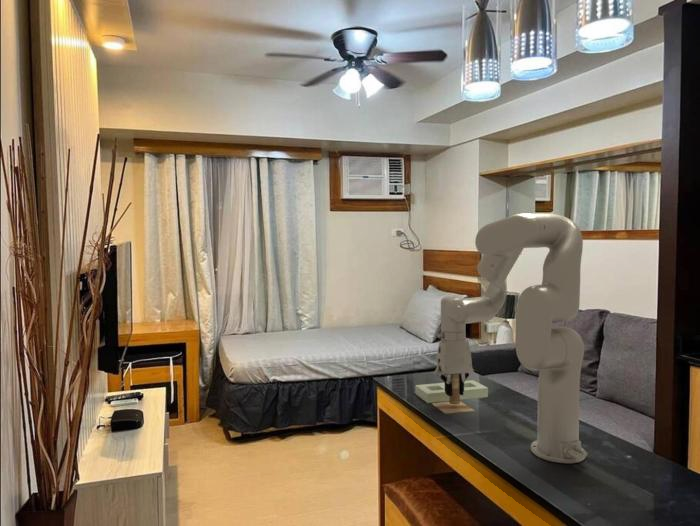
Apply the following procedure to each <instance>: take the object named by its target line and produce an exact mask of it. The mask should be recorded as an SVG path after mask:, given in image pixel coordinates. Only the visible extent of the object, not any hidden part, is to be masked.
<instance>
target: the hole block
mask: <svg viewBox="0 0 700 526" xmlns="http://www.w3.org/2000/svg"><path fill="white" fill-rule="evenodd" d="M414 389H415V395H416V396H418V397H419V398H420V399H421V400H423V401H424V402H425V403H426V404H432V403H442V402H449V396H448V395H446V393H445V382H436V383H426V384H425V383H424V384H416V385H415V388H414ZM488 397H489V387H487V386H485V385H483V384H482V383H480V382H478V381H475V380H474V379H471V380H466V381H465V382H464V392H463V395H460V401H462V400H463V401H464V400H469V399H472V400H473V399H480V398H481V399H483V398H488Z"/></svg>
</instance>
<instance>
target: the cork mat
mask: <svg viewBox="0 0 700 526" xmlns="http://www.w3.org/2000/svg"><path fill="white" fill-rule="evenodd" d="M431 405H433V406H434V407H435V408H437V409H438V410H439V411H441V412H442V413H443V414H444V415H447V414H448V415H450V414H457V413H467V412H475V411H476V410H474V409H473V408H472V407H470V406H468V405H467V404H465V403H464V402H463V401H462V400H460V404H450V403H449V401H443V402H433V403H431Z"/></svg>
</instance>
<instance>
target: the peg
mask: <svg viewBox="0 0 700 526" xmlns="http://www.w3.org/2000/svg"><path fill="white" fill-rule="evenodd" d="M450 383H451V384H452V396H449V401H448V402H449V403H450V404H460V401H461V400H460V384H459V374H451V380H450Z"/></svg>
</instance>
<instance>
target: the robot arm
mask: <svg viewBox="0 0 700 526" xmlns="http://www.w3.org/2000/svg"><path fill="white" fill-rule="evenodd" d="M583 239H584V238H583V235H582V231H581V228H580V227H579V226H578V225H577V224H576V223H575V221H573V220H572V219H570V218H568V217H566V216H564V215H561V214H555V213H526V212H525V213H524V212H522V213H517V214H514V215H510V216H507V217H505V218H501V219H499V220H498V219H497V220H495V221H493V222H489V223H487V224H485V225H484V226H482V227H480V229H479V230H478V232H477V233H476V236H475V239H474V240H475V242H474V243H475V248H476V250H477V251H478V252H479V253H480V254H481V255H482V257H481V260H480V261H479V263H478V264H477V268H476V269H477V273H478V275H479V276H480V277H481V278H482V279H484V280H485V281H486V282H487V283H488V286H487V288H486V290H485V291H484V293H483V294H482V296H476V297H475V296H474V297H473V296H472V297H467V298H465V297H462V296H445V297H442V298H441V300H440V329H441V330H440V333H437V335H436V336H437V338H438V339H440V340H439V343H438V347H437V357H436V359H437V360H436V368H435V370H434V372H433V375H434V376H436V377H438V378H440V379H441V380H442V381H443V383H445V393H446V395H448V396H452V384H451V383H450V380H451V374H459V384H460V395H463V392H464V382H465V381H467V380H466V379H468V377H469V376H471V375H472V374H473V373H474V372H475V369H474V368H473V363H472V362H473V361H472V352H471V346H470V342H469V340H467V337H466V336H467V335H466V333H467V332H466V326H467V325H466V324H475V323H480V322H482V323H483V322H489V321H490V320H492V319H494V318H495V317H496V316H497V314H498V313H499V311H500V310H501V308H502V306H503V305H504V304H505V301H506V297H507V283H506V279H507V277H508V276H509V274H510V272H511V270H512V269H513V267H514V266H515V264H516V263H517V261H518V259H519V257H520V255H521V254H522V252H523V250H524V249H534V248H547V249H549V250H548V253H547V255H546V256H545V258H544V262H543V266H542V281H541V284H535V285H530V286H528V287H527V288H524V290H523V291H521V293H520V294H519V297H518V300H517V302H516V307H515V308H516V310H515V311H516V312H515V313H516V314H515V316H516V317H515V352H516V353H515V354H516V357H517V358H518V361H519V363H520V364H521V365H522V366H523V367H524V368H526V369H527V370H531V371H536V372H537V371H538V372H539V374H538V379H537V380H538V381H537V436H536V437H537V438H536V440H534V441H533V442H531V443H530V450H531V451H530V452H532V453H533V454H534V455H535V456H536V457H538V458H539V459H542V460H545V461H548V462H552V463H559V464H576V463H581V462H583V461H584V460H585V459H586V457H587V456H588V452H587V450H585V449H584V448H583V447H582V441H581V440H580V439H579V438H580V389H581V388H580V383H581V371H582V367H583V360H584V356H585V344H584V341H583V338H582V337H581V335H580V334H579V332H577V331H576V330H574V329H573V328H571V327H568V326H552V325H553V324H559V323H564V322H569V321H571V320H573V319H576V317H577V315H578V313H579V310H580V302H581V301H580V300H581V299H580V296H581V267H582V266H581V264H582V256H583V243H584V240H583Z"/></svg>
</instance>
